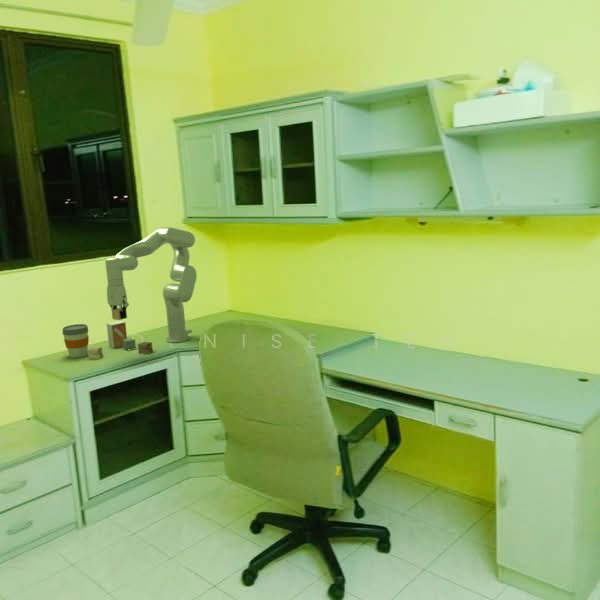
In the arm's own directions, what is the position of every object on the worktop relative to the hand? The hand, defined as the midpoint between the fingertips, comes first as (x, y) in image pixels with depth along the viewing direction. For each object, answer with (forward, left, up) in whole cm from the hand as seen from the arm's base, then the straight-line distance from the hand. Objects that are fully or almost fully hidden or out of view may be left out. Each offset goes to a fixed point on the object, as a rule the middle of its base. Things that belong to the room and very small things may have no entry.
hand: (119, 317), depth 301 cm
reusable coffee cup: (+9, -25, -21) cm, 34 cm away
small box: (-12, -19, -21) cm, 30 cm away
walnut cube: (-10, +5, -21) cm, 23 cm away
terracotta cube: (0, 0, -1) cm, 1 cm away
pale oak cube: (+8, -12, -21) cm, 25 cm away
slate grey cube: (-11, -9, -21) cm, 25 cm away
